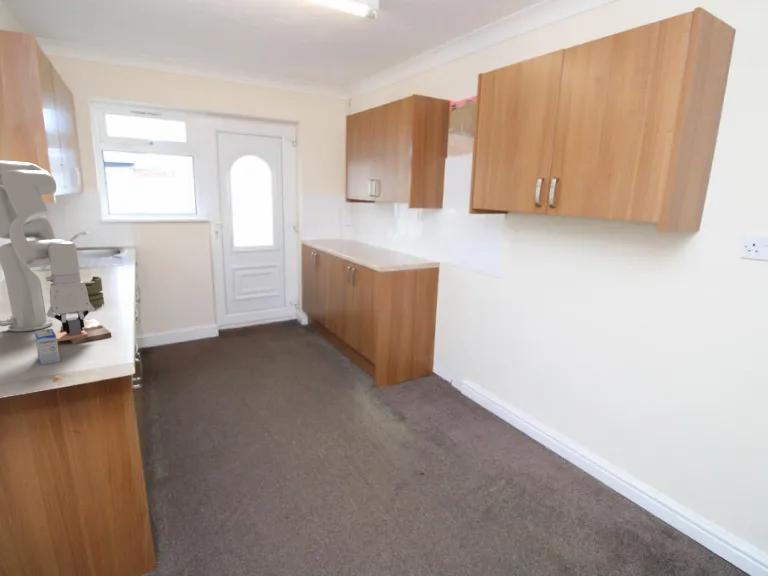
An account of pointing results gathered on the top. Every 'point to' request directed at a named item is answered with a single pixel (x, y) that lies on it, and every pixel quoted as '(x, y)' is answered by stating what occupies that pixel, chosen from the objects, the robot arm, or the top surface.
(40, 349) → the medicine box
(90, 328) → the board
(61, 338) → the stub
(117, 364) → the top surface
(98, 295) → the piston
